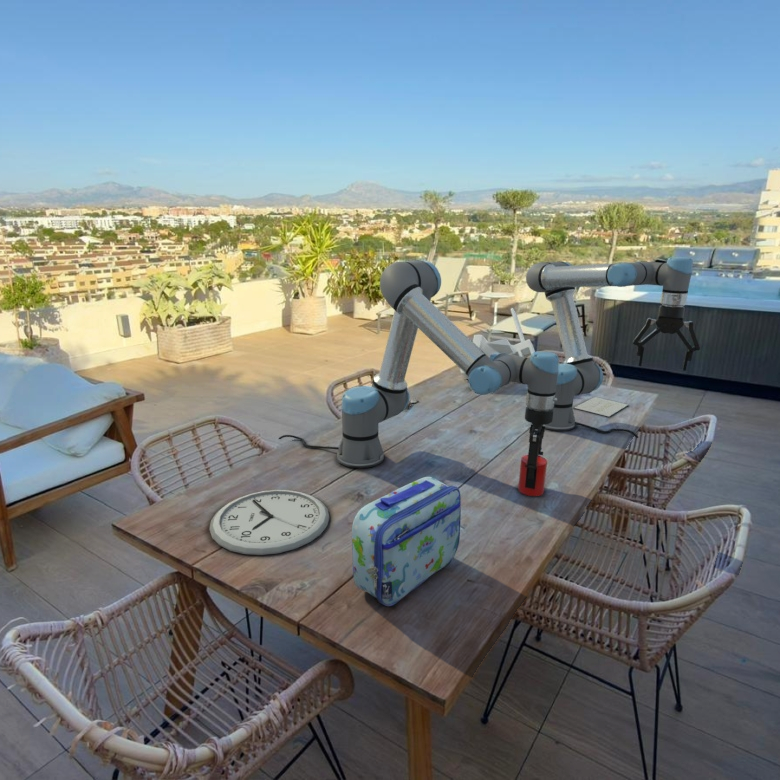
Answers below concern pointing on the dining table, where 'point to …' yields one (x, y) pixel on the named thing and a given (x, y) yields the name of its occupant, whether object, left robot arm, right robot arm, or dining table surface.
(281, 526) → the wall clock
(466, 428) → the dining table surface
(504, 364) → the left robot arm
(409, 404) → the fork
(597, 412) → the invitation card
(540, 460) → the tin
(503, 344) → the white plastic object
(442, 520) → the lunch box
